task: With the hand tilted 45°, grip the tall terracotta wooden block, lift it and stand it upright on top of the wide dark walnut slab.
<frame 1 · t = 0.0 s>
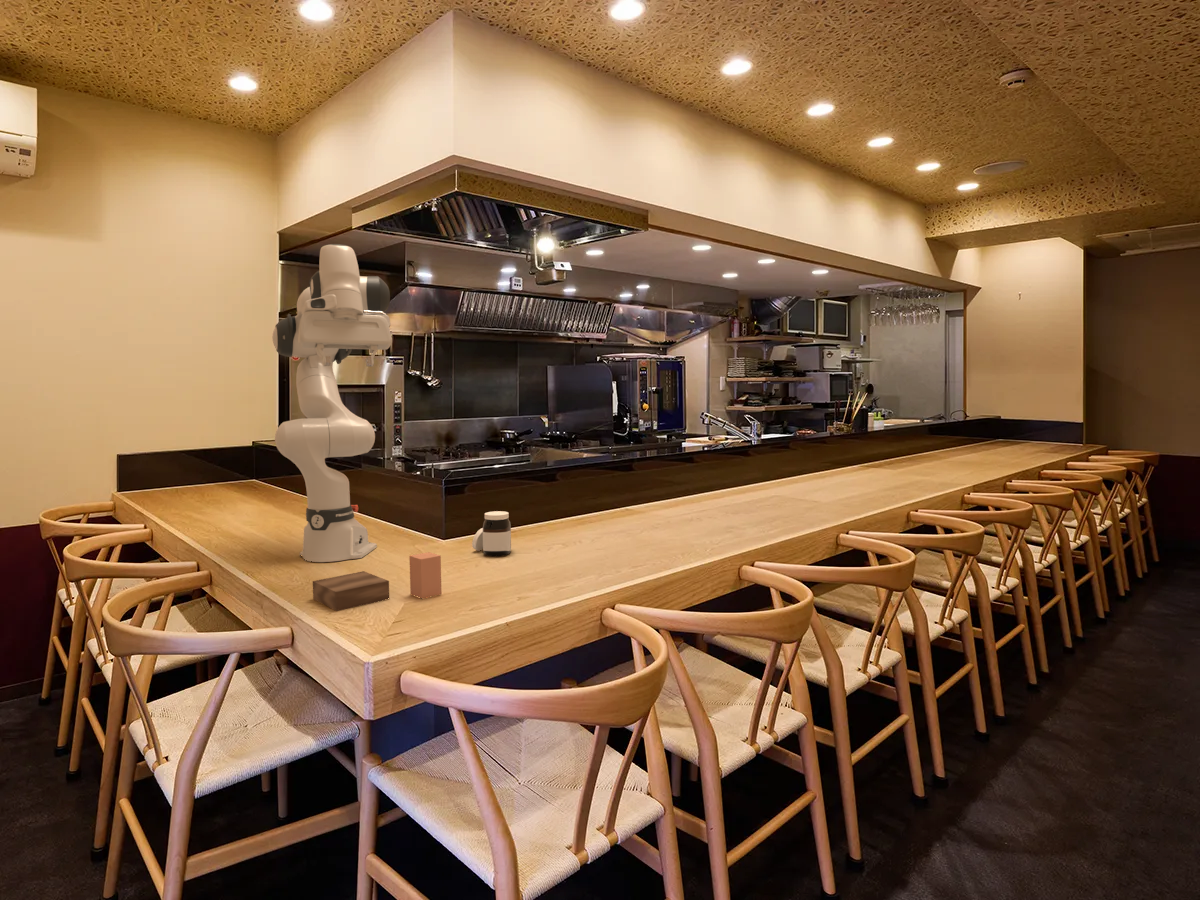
hand: (348, 365, 157), 52 cm above the counter, tool tilted 20°, fingers open, 8 cm apart
terracotta block: (426, 594, 157), on the counter
walnut slab: (351, 600, 154), on the counter
spread jar: (491, 553, 198), on the counter
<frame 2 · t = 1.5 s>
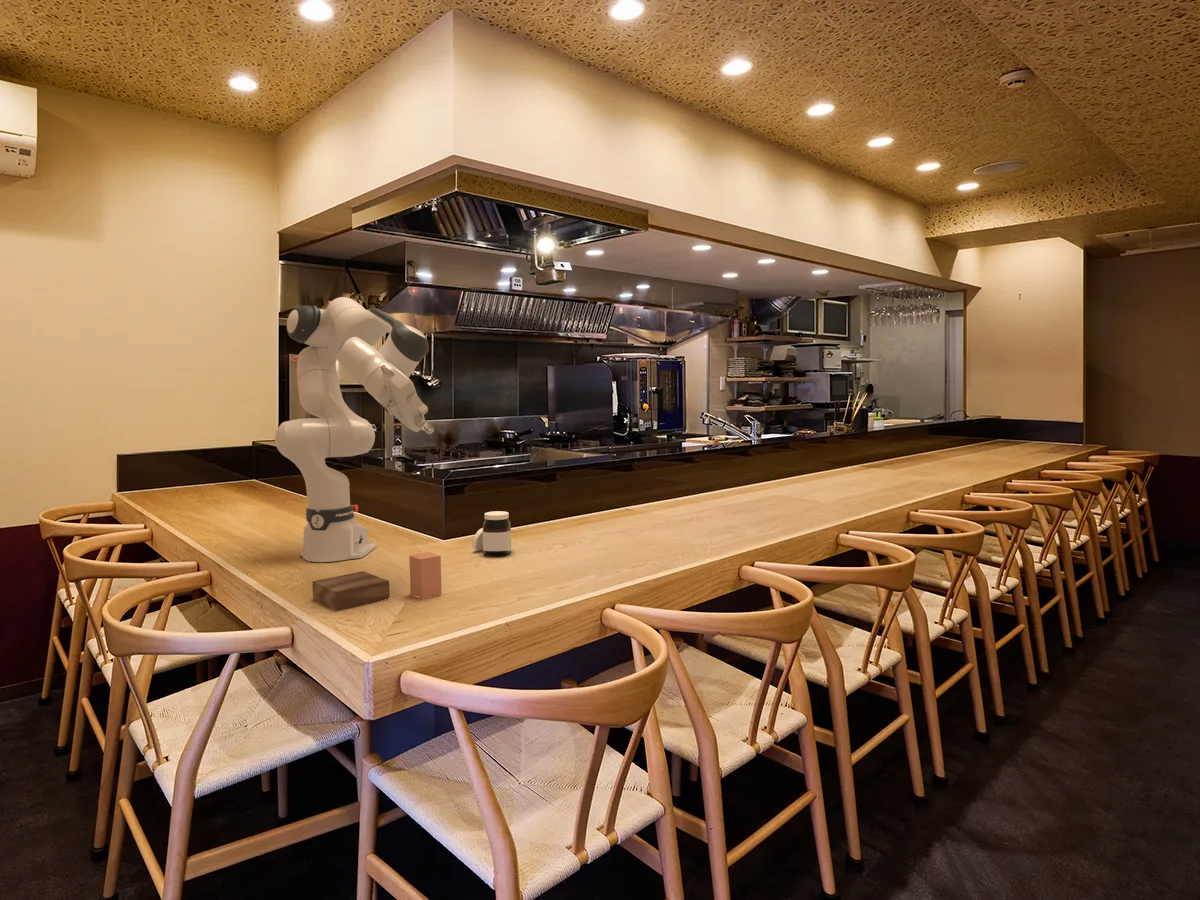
hand: (428, 421, 161), 39 cm above the counter, tool tilted 55°, fingers open, 8 cm apart
nothing on the counter moved.
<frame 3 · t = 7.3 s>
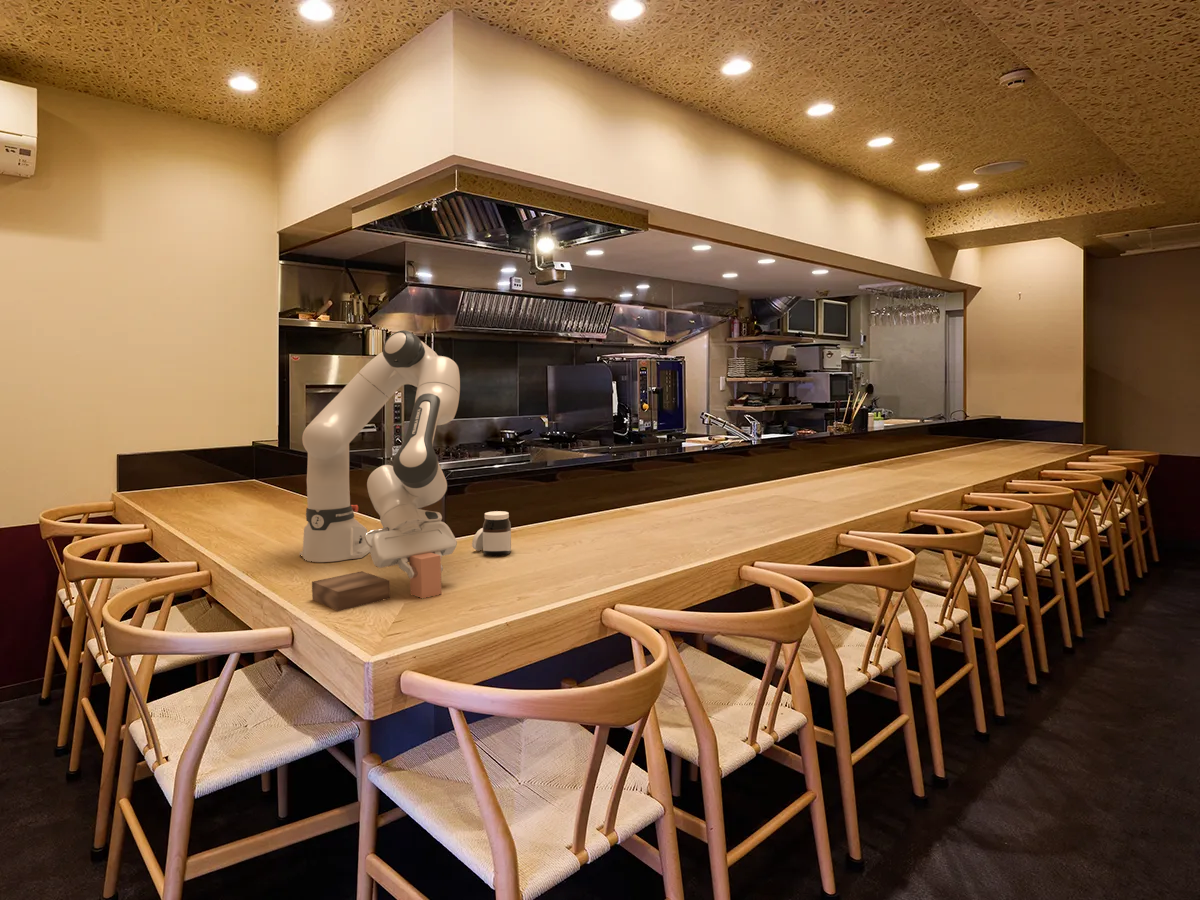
hand: (426, 573, 156), 5 cm above the counter, tool tilted 45°, fingers closed on terracotta block, 5 cm apart
terracotta block: (426, 594, 157), on the counter, touching gripper
everything else where it was.
when the fingers open (11 cm above the counter, at t = 12.0 s): terracotta block drops 2 cm, resting on walnut slab.
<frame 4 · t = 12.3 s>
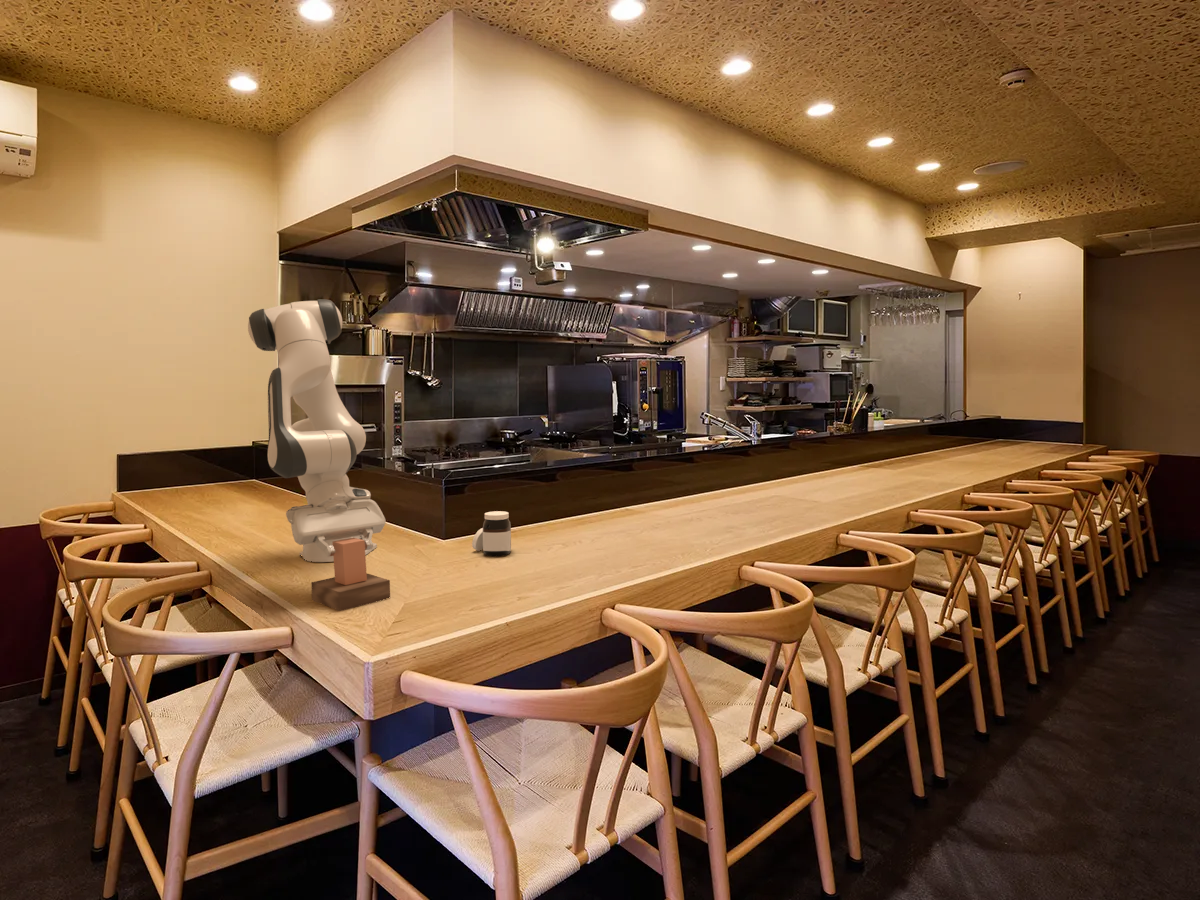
hand: (350, 551, 152), 11 cm above the counter, tool tilted 45°, fingers open, 7 cm apart
terracotta block: (351, 580, 153), point 4 cm above the counter, touching walnut slab
walnut slab: (351, 601, 154), on the counter, touching terracotta block
everything else where it was.
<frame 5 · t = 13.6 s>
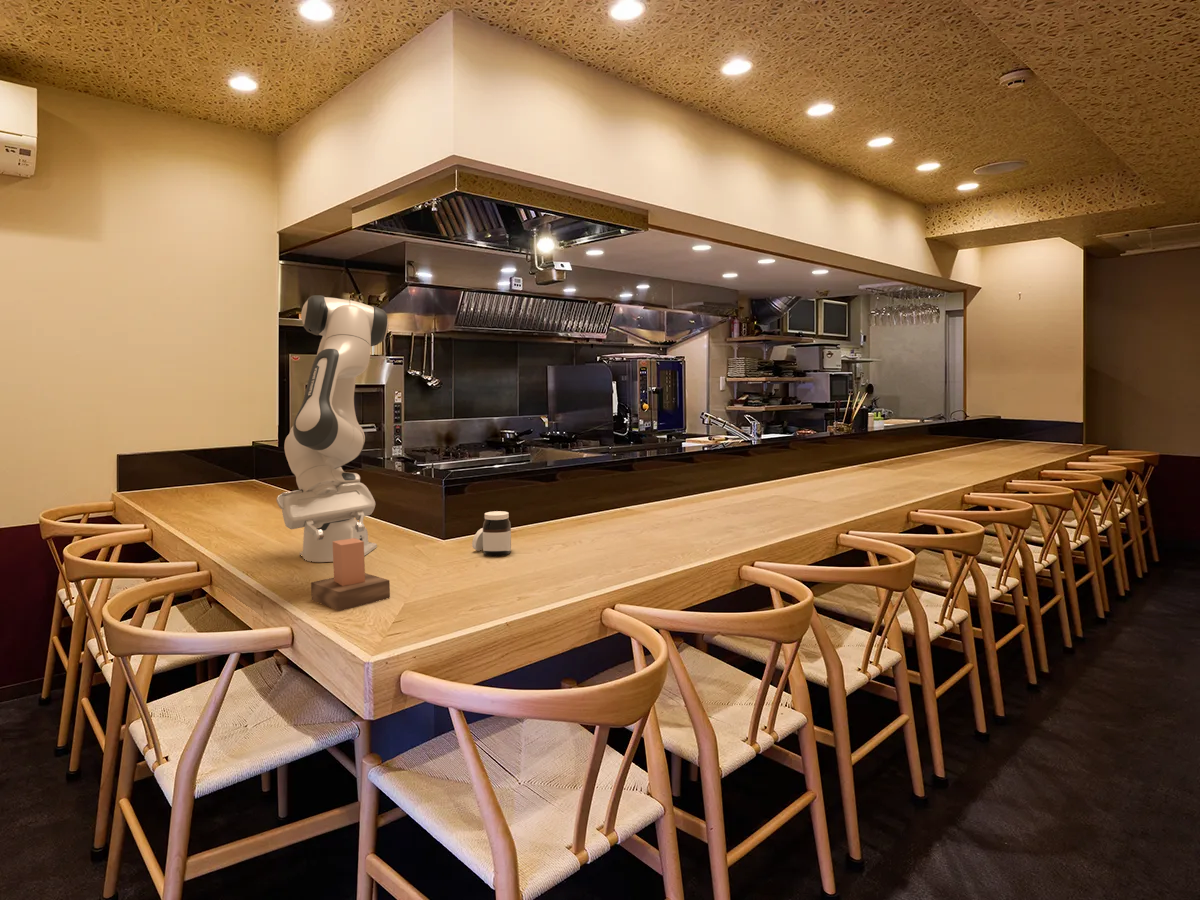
hand: (341, 534, 156), 14 cm above the counter, tool tilted 45°, fingers open, 8 cm apart
terracotta block: (349, 581, 153), point 4 cm above the counter
walnut slab: (351, 601, 154), on the counter
everything else where it was.
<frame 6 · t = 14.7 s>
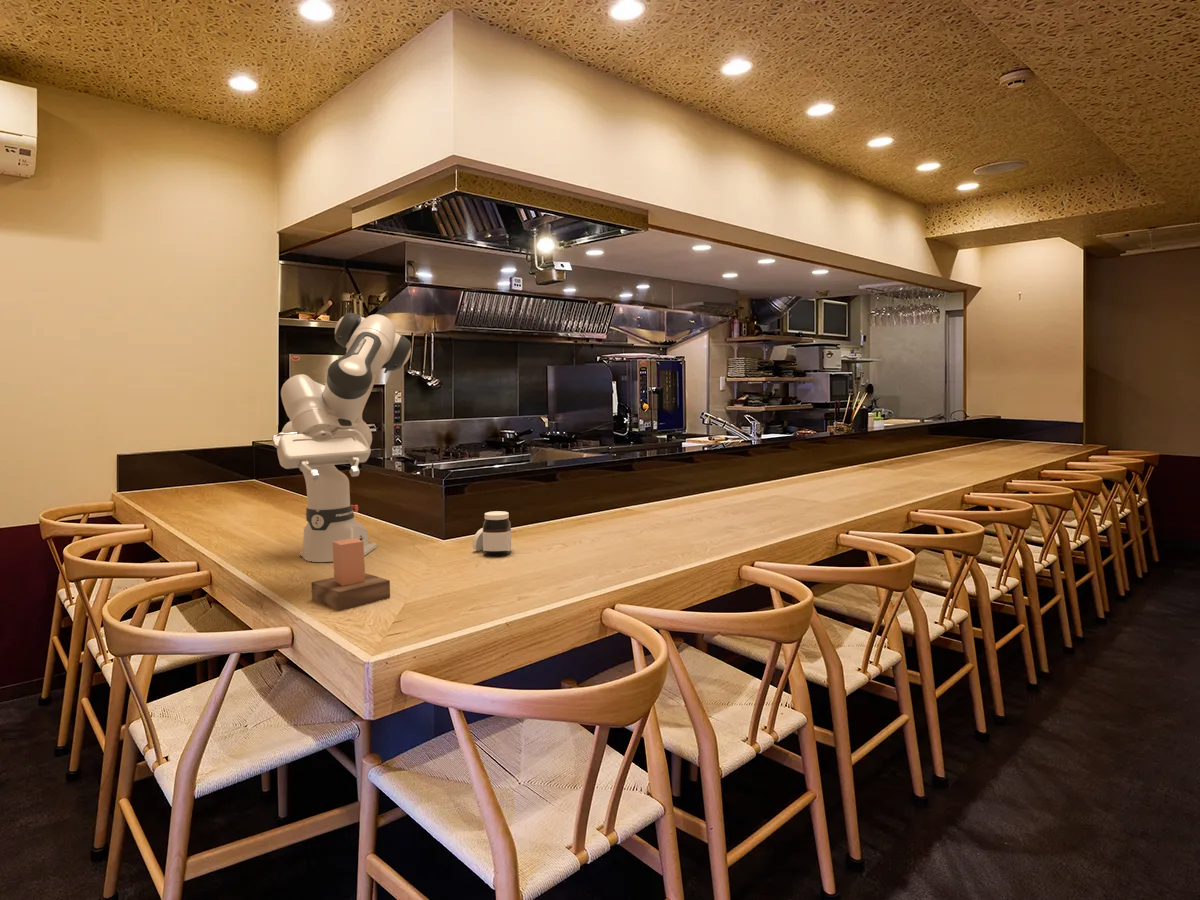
hand: (335, 476, 155), 27 cm above the counter, tool tilted 45°, fingers open, 8 cm apart
terracotta block: (349, 581, 153), point 4 cm above the counter, touching walnut slab
walnut slab: (351, 601, 154), on the counter, touching terracotta block
everything else where it was.
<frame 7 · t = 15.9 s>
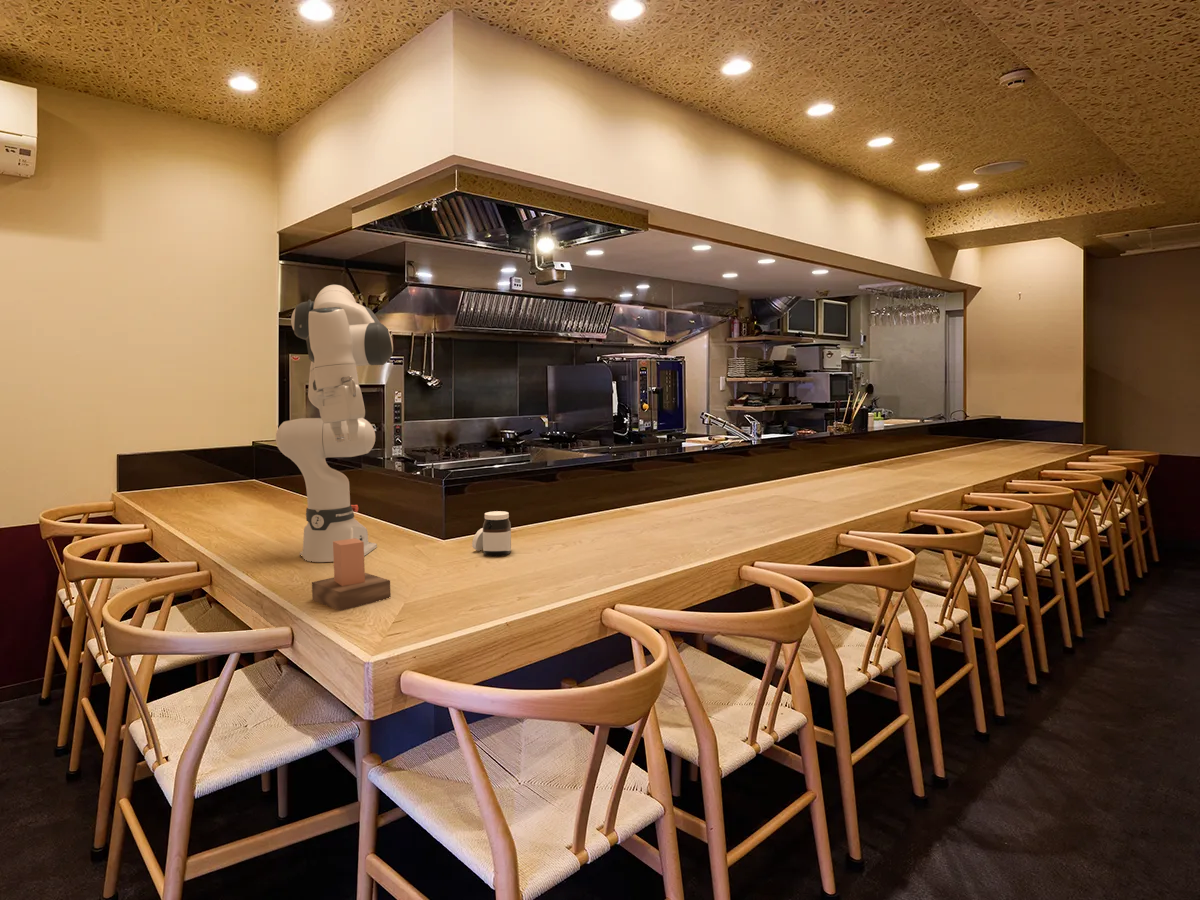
hand: (346, 441, 154), 35 cm above the counter, tool pointing down, fingers open, 8 cm apart
nothing on the counter moved.
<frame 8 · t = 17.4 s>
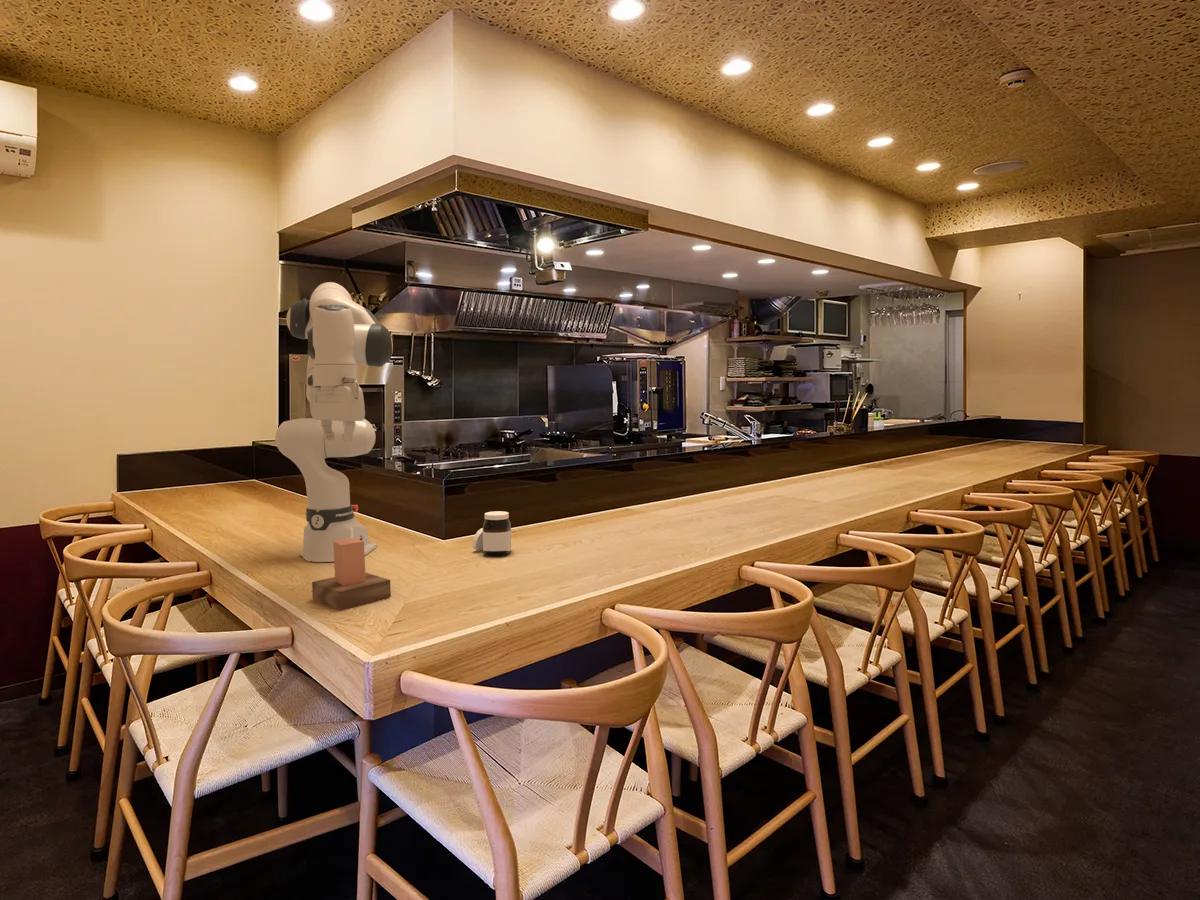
hand: (338, 441, 153), 35 cm above the counter, tool pointing down, fingers open, 8 cm apart
nothing on the counter moved.
at the end: terracotta block inside the target area on the walnut slab (0.1 cm from its centre), point 4.5 cm above the walnut slab's base; terracotta block tilted 0°; the gripper is holding nothing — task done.
